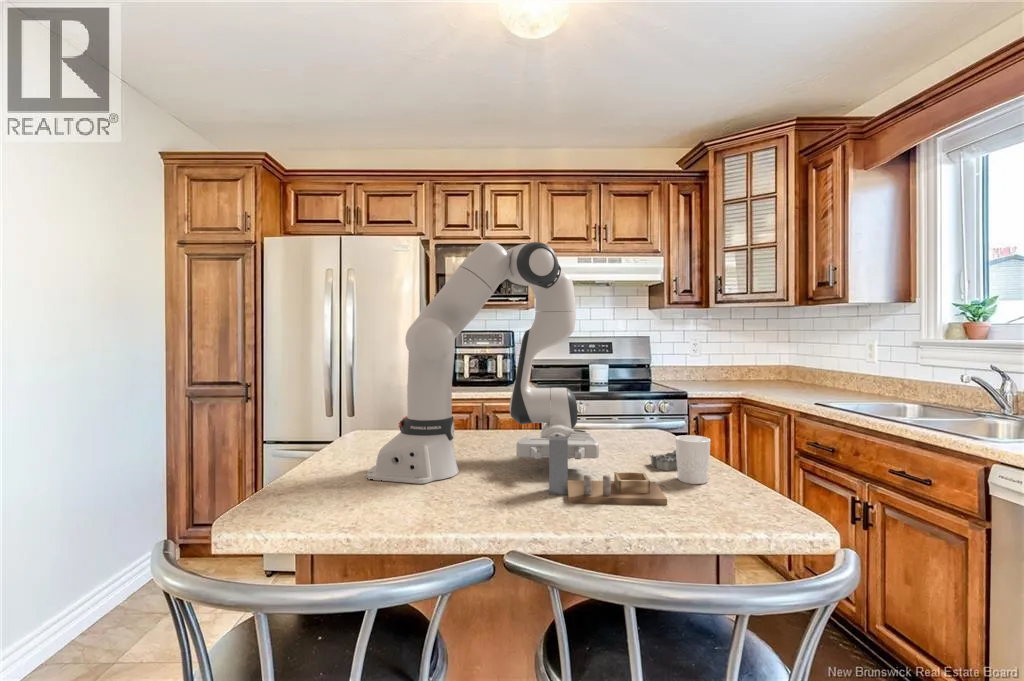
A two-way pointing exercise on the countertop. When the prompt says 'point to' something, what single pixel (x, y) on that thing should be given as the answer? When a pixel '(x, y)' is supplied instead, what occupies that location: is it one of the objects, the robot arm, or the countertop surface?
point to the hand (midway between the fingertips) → (557, 455)
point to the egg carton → (664, 461)
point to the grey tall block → (558, 465)
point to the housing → (616, 490)
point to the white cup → (692, 458)
